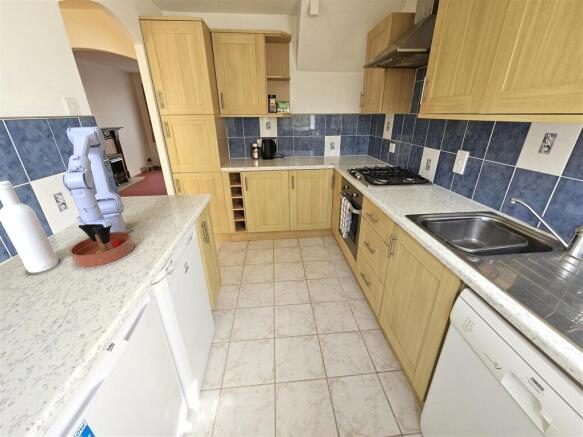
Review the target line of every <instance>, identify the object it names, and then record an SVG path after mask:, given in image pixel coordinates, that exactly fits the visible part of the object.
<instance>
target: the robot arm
mask: <svg viewBox="0 0 583 437" xmlns="http://www.w3.org/2000/svg"><path fill="white" fill-rule="evenodd" d="M66 135H67V138H68V140H69V142H71V144H72V146H73V154H72V155H70V156H69V158H68V165H67V171H66V172H65V174H63V175H62V178H61V179H62V184H63V186H64V188H65V189H66V191H67V192H68V195H69V196H70V197H72V199H73V201H74V204H75V207H76V209H77V211H78V214H79V216H76V218H75V219H76V221H77V223H78V226H77V227H78V228H79V229H80V230H82V231H83V232H84V233H85V234H86V235H87V237H88V238H90V239H91V240H92V241H93V242H95V241H97V240H96V237H95V234H97V235H98V237H99V238H100V240H101V242H102V243H103V244H106V243H108V242H110V232H126V233H129V232H130V231H132V229H130V228H127V227H126V224H125V220H124V217H123V212H124V211H125V207H124V206H125V204H124V202H123V200H122V197H121V195H119V194H118V193H116V192H114V191H112V190H111V189H112V188H111V185H110V181H109V177H108V173H107V168H106V164H105V160H104V154H103V152H104V151H105V150H107V144H106V140H105V136H104V133H103V131H102V129H101V128H100V127H99V126H82V127H79V126H78V127H77V126H76V127H71V126H69V127H68V128H67V129H66ZM94 187H95V190H96V194H95V191H94Z"/></svg>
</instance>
